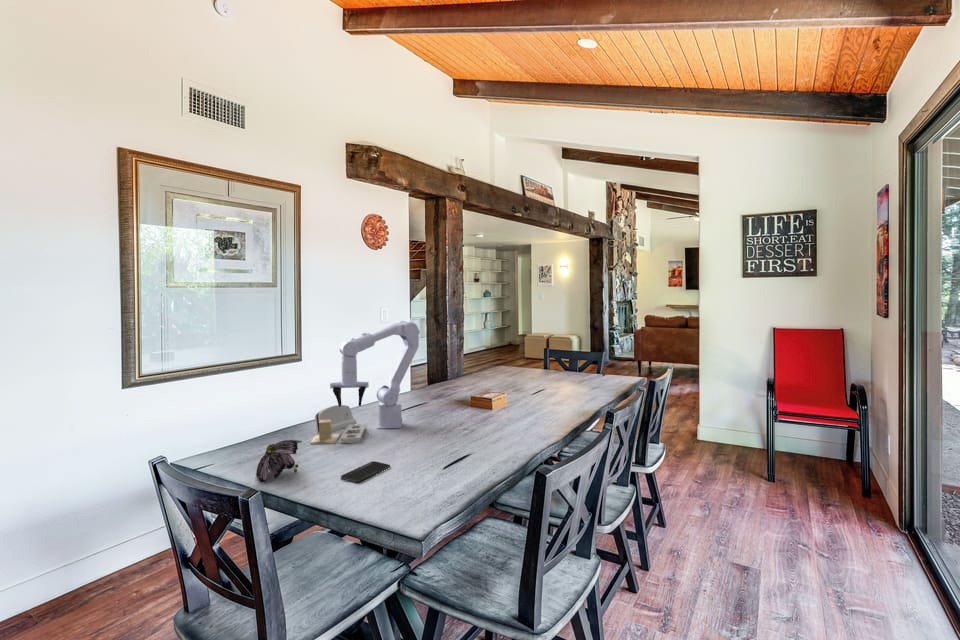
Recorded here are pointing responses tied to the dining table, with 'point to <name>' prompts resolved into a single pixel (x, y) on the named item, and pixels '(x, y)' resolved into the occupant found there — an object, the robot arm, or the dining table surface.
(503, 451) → the dining table surface
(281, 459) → the decorative flower
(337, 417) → the grey rounded upright block
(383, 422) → the robot arm
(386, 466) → the phone
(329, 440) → the birch pad
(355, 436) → the grey peg hole board
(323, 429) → the brass peg
